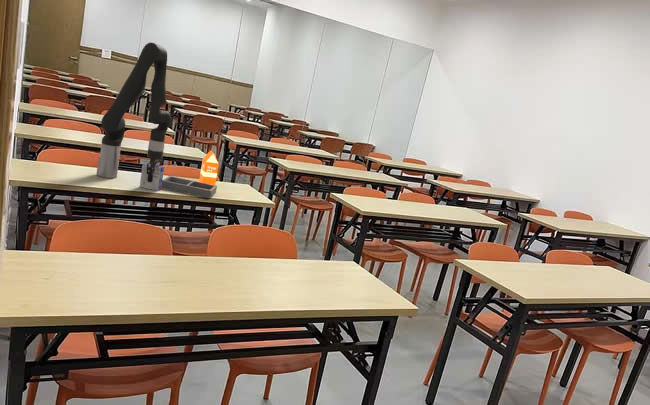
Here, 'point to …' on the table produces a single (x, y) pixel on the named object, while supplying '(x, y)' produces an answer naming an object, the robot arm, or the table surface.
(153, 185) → the ink cartridge box
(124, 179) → the table surface
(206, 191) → the grey divided tray
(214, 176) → the orange juice
